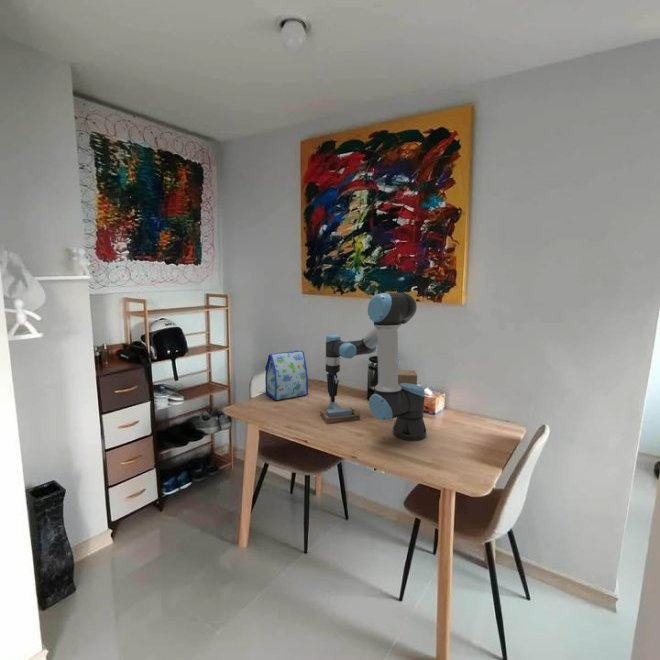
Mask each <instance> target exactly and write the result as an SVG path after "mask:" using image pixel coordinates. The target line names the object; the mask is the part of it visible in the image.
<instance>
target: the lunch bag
mask: <svg viewBox="0 0 660 660" xmlns="http://www.w3.org/2000/svg"><path fill="white" fill-rule="evenodd" d="M264 369H265V380H264V381H265V395H266V396H267V397H271V398H272V399H273V400H274V401H279V400H284V399H289V398H295V397H301V396H302V397H303V396H307V395H309V376H308V369H307V362H306V357H305V352H304V350H297V349H296V350H292V351H291V350H290V351H285V352H284V351H283V352H277V353H270V354H268V357H267V361H266V365H265V368H264Z"/></svg>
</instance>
